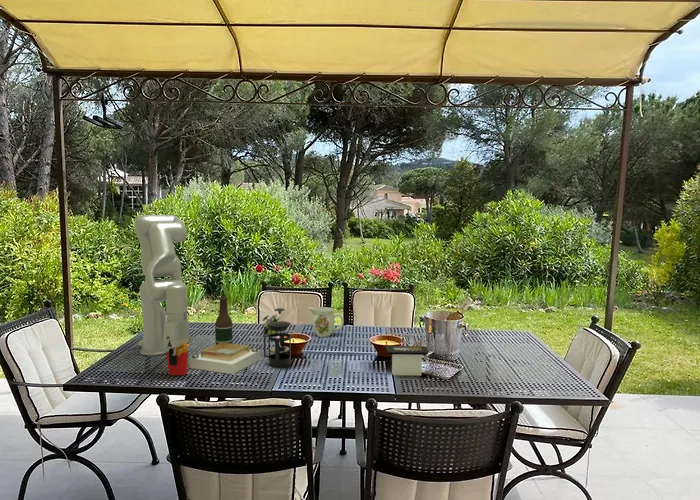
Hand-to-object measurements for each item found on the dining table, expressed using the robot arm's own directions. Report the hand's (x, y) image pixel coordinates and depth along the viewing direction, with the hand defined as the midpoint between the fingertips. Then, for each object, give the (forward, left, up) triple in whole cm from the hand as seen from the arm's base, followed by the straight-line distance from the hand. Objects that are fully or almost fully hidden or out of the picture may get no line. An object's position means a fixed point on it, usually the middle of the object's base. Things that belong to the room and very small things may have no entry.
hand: (177, 362), depth 200 cm
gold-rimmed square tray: (+9, +18, -5) cm, 21 cm away
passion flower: (+2, +69, -5) cm, 69 cm away
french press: (+29, +26, -5) cm, 39 cm away
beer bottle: (-3, +34, -5) cm, 34 cm away
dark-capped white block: (+81, +35, -5) cm, 88 cm away
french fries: (0, 0, -5) cm, 5 cm away
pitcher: (+28, +75, -5) cm, 80 cm away
